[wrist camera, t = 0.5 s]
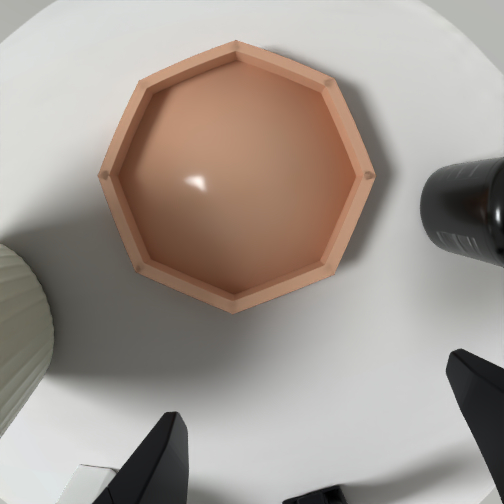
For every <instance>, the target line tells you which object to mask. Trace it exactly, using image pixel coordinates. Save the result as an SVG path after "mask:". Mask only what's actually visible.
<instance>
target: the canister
mask: <svg viewBox="0 0 504 504" xmlns="http://www.w3.org/2000/svg"><path fill="white" fill-rule="evenodd" d="M52 321H53V317H52V316H51V313H50V306H49V304H48V302H47V299H46V295H45V294H44V292H43V290H42V285H41V284H40V283H39V282H38V280H37V277H36V275H35V274H34V273H33V272H32V271H31V268H30V266H29V265H27V264H26V263H25V262H24V260H23V258H22V257H20V256H18V255H17V254H16V252H15V251H13V250H11V249H9V248H8V247H7V246H5V245H3V244H0V438H1V437H2V435H3V434H4V433H5V431H6V430H7V428H8V427H9V426H10V424H11V423H12V421H13V420H14V419H15V417H16V416H17V414H18V413H19V411H20V410H21V409H22V407H23V406H24V404H25V403H26V402H27V400H28V399H29V397H30V396H31V394H32V393H33V391H34V390H35V389H36V387H37V386H38V384H39V383H40V381H41V380H42V378H43V377H44V375H45V373H46V371H47V369H48V367H49V365H50V362H51V357H52V355H53V345H54V335H53V334H54V327H53V322H52Z"/></svg>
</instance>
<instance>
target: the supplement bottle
mask: <svg viewBox="0 0 504 504" xmlns="http://www.w3.org/2000/svg"><path fill="white" fill-rule="evenodd" d="M420 214H421V220H422V223H423V226H424V229H425V231H426V233H427V235H428V237H429V238H430V239H431V241H432V242H433V243H434V244H435V245H437V246H438V247H439V248H441V249H443V250H445V251H448V252H452V253H455V254H459V255H462V256H466V257H470V258H473V259H477V260H480V261H484V262H487V263H491V264H494V265H498V266H501V267H504V157H500V158H493V159H487V160H480V161H474V162H467V163H461V164H455V165H450V166H446V167H443V168H440V169H438V170H437V171H435V172H434V173H433V174H432V175H431V176H430V177H429V179H428V180H427V182H426V184H425V186H424V188H423V191H422V195H421V201H420Z"/></svg>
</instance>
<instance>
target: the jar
mask: <svg viewBox="0 0 504 504" xmlns="http://www.w3.org/2000/svg"><path fill="white" fill-rule="evenodd" d="M116 474H117V473H115V472H114V471H113V470H111V469H109V468H100V467H92V466H85V465H78V467H77V468H76V470H75V472H74V473H73V475H72V477H71V478H70V480H69V482H68V483H67V485H66V487H65V488H64V490H63V492H62V494H61V495H60V497H59V499H58V500H57V502H56V504H92V503H93V501H94V500H95V499H96V498H97V497H98V496H99V495H100V493H101V492H102V491H103V490H104V489H105V487H106V486H107V487H108V484H109V483H110V481H111V480H112V479H113V478H114V476H115V475H116Z"/></svg>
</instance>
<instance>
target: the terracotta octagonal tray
mask: <svg viewBox="0 0 504 504" xmlns="http://www.w3.org/2000/svg"><path fill="white" fill-rule="evenodd" d="M375 177H376V174H375V172H374V169H373V166H372V164H371V161H370V158H369V156H368V153H367V151H366V148H365V146H364V143H363V141H362V138H361V136H360V134H359V131H358V129H357V126H356V124H355V122H354V120H353V117H352V115H351V113H350V110H349V108H348V106H347V104H346V102H345V100H344V97H343V95H342V93H341V91H340V89H339V87H338V85H337V83H336V81H335V79H334V78H332V77H330V76H328V75H326V74H323V73H321V72H319V71H317V70H314V69H312V68H310V67H307V66H305V65H303V64H300V63H298V62H295V61H293V60H290V59H288V58H285V57H283V56H280V55H277V54H275V53H272V52H269V51H267V50H264V49H261V48H258V47H255V46H252V45H249V44H246V43H243V42H240V41H237V40H235V41H232V42H229V43H227V44H224V45H221V46H218V47H215V48H213V49H210V50H207V51H205V52H202V53H200V54H197V55H195V56H192V57H190V58H188V59H185V60H183V61H180V62H178V63H176V64H174V65H171V66H169V67H167V68H165V69H163V70H160V71H158V72H156V73H154V74H152V75H150V76H148V77H146V78H144V79H142V80H139V81H138V84H137V86H136V88H135V90H134V92H133V94H132V96H131V98H130V100H129V102H128V104H127V107H126V109H125V111H124V113H123V115H122V118H121V120H120V122H119V124H118V127H117V129H116V131H115V134H114V136H113V138H112V141H111V143H110V146H109V148H108V151H107V153H106V156H105V158H104V161H103V164H102V166H101V169H100V172H99V174H98V178H99V181H100V183H101V186H102V189H103V192H104V195H105V197H106V200H107V203H108V205H109V208H110V211H111V213H112V216H113V219H114V221H115V224H116V226H117V229H118V231H119V234H120V236H121V239H122V241H123V244H124V246H125V248H126V251H127V253H128V256H129V258H130V260H131V263H132V265H133V267H134V269H135V272H136V273H139V274H141V275H143V276H145V277H147V278H150V279H152V280H154V281H156V282H159V283H161V284H163V285H165V286H168V287H170V288H172V289H174V290H177V291H179V292H181V293H184V294H186V295H188V296H191V297H193V298H195V299H198V300H200V301H202V302H205V303H207V304H209V305H212V306H214V307H217V308H219V309H222V310H224V311H226V312H229V313H231V314H235V313H237V312H240V311H243V310H245V309H248V308H251V307H253V306H256V305H259V304H261V303H264V302H267V301H269V300H272V299H274V298H277V297H279V296H282V295H285V294H287V293H290V292H292V291H295V290H297V289H300V288H302V287H305V286H307V285H310V284H312V283H315V282H317V281H320V280H322V279H324V278H327V277H329V276H332V275H334V273H335V271H336V269H337V267H338V264H339V262H340V260H341V258H342V256H343V253H344V251H345V249H346V247H347V244H348V242H349V240H350V238H351V235H352V233H353V231H354V228H355V226H356V224H357V221H358V219H359V217H360V214H361V212H362V210H363V207H364V205H365V202H366V200H367V197H368V195H369V193H370V190H371V188H372V185H373V182H374V180H375Z"/></svg>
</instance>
